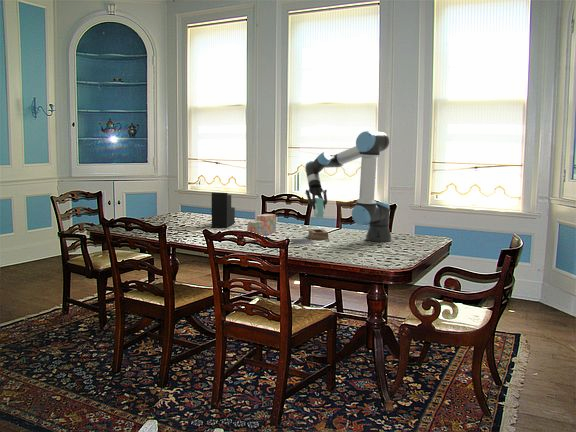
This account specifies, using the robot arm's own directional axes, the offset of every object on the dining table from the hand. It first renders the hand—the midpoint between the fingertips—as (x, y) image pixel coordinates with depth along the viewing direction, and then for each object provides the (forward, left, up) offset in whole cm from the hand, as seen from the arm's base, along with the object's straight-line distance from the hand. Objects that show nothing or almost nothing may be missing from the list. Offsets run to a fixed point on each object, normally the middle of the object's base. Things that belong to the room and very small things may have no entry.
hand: (320, 213), depth 348 cm
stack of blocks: (+25, -28, -16) cm, 41 cm away
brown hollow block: (-2, -4, -16) cm, 17 cm away
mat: (+13, +3, -16) cm, 21 cm away
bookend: (+32, -72, -16) cm, 81 cm away
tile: (-1, -4, -3) cm, 5 cm away
